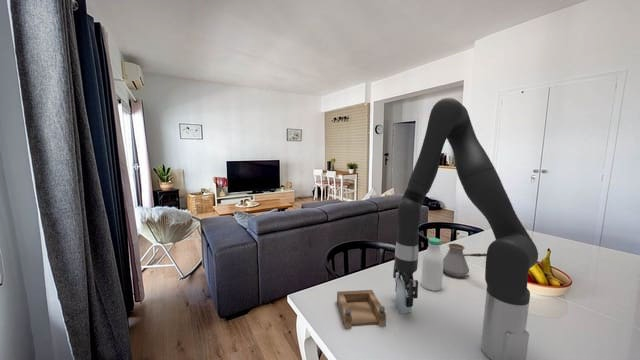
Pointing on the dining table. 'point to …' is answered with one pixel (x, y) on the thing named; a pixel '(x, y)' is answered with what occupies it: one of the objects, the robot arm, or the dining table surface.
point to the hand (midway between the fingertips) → (403, 299)
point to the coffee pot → (457, 261)
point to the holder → (360, 308)
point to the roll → (401, 298)
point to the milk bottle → (432, 266)
